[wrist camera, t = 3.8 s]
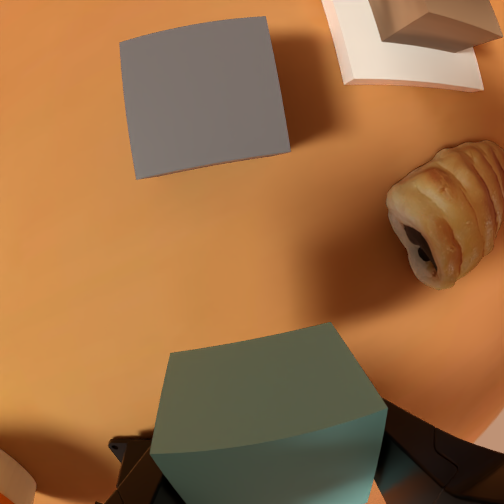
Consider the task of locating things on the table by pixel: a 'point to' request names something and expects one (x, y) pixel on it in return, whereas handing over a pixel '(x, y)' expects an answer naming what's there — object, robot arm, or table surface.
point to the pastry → (450, 211)
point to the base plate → (393, 54)
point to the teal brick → (270, 422)
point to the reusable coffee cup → (15, 482)
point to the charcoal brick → (202, 96)
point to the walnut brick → (436, 23)
